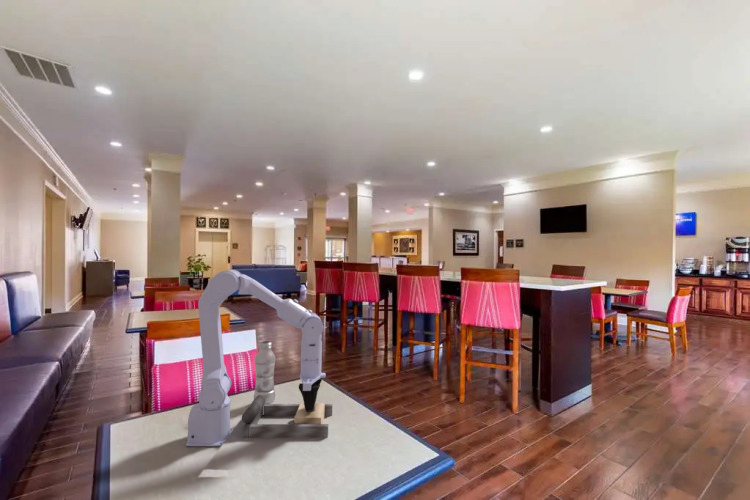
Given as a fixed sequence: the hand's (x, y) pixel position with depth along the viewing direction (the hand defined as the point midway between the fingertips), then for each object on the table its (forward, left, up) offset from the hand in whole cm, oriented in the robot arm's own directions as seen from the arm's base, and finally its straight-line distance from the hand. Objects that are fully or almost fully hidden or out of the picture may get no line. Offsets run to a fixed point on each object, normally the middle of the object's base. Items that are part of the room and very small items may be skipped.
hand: (310, 407), depth 97 cm
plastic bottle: (-17, +16, -6) cm, 24 cm away
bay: (-5, 0, -6) cm, 8 cm away
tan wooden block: (0, 0, -5) cm, 5 cm away
